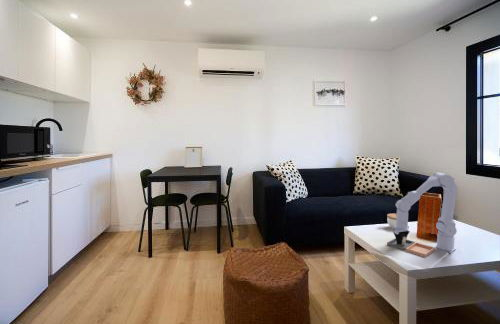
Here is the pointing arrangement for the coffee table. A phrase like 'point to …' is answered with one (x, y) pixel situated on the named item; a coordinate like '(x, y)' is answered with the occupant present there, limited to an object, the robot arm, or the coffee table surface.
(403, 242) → the beige rounded cylinder
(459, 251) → the coffee table surface
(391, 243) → the tray
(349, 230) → the coffee table surface
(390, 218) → the lidded bowl
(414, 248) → the tray
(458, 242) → the coffee table surface
